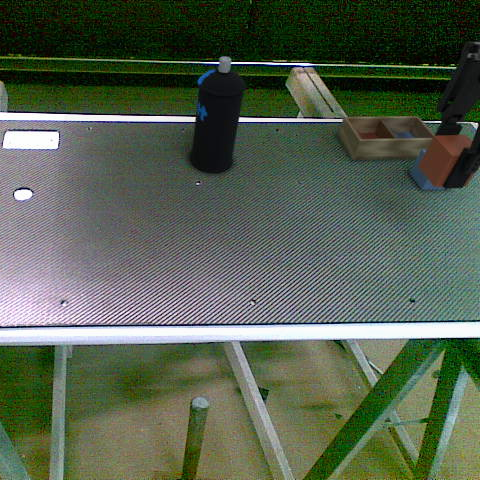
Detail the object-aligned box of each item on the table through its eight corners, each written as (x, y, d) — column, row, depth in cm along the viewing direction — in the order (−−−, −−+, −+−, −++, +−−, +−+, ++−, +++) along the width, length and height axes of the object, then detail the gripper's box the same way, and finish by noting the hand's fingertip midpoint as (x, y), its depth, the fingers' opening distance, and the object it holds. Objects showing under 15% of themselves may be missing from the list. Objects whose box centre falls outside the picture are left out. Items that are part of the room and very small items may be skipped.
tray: (409, 134, 101) (418, 115, 97) (429, 158, 95) (439, 139, 91) (337, 135, 99) (343, 116, 96) (352, 159, 93) (360, 140, 90)
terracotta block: (448, 165, 72) (466, 134, 69) (466, 186, 69) (486, 154, 65) (417, 166, 72) (433, 135, 68) (434, 187, 68) (452, 156, 65)
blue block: (433, 172, 91) (447, 148, 87) (447, 189, 88) (461, 165, 84) (409, 173, 91) (421, 149, 87) (421, 190, 87) (435, 165, 83)
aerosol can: (235, 152, 93) (254, 52, 79) (228, 177, 88) (247, 73, 73) (195, 145, 95) (205, 45, 80) (185, 168, 89) (195, 65, 75)
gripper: (461, -17, 60) (391, 141, 76) (560, 43, 47) (450, 216, 64) (516, -17, 60) (435, 139, 77) (628, 43, 48) (502, 214, 64)
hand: (442, 174), depth 70 cm, fingers closed on terracotta block, 5 cm apart
